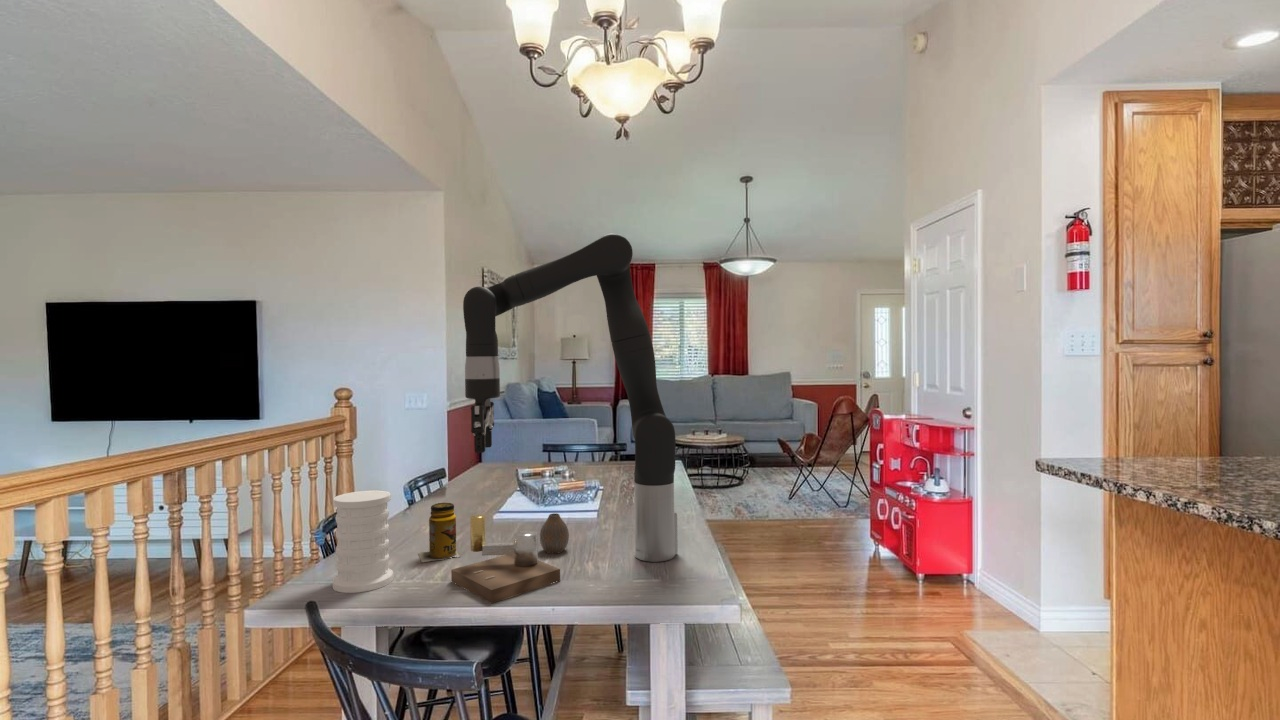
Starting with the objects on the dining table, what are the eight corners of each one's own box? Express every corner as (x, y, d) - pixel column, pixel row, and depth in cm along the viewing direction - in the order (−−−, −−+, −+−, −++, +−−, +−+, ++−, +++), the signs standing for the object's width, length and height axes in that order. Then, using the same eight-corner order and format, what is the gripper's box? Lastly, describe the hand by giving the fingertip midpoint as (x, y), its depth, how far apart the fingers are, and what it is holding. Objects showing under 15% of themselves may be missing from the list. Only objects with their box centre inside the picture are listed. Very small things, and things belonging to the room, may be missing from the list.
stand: (517, 562, 137) (517, 551, 137) (560, 580, 125) (560, 567, 125) (451, 581, 126) (451, 568, 126) (491, 603, 114) (491, 588, 114)
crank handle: (538, 557, 132) (538, 511, 132) (536, 565, 127) (536, 517, 127) (473, 560, 131) (472, 513, 131) (468, 568, 126) (468, 519, 126)
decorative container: (359, 596, 118) (358, 504, 118) (319, 587, 123) (318, 499, 123) (405, 577, 129) (404, 492, 129) (366, 569, 134) (365, 488, 134)
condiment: (460, 557, 141) (459, 506, 141) (421, 563, 138) (421, 510, 138) (455, 548, 148) (454, 499, 148) (418, 554, 144) (417, 503, 144)
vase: (563, 556, 141) (563, 518, 141) (535, 554, 143) (535, 517, 143) (572, 547, 148) (572, 511, 148) (546, 546, 149) (545, 510, 149)
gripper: (494, 377, 129) (495, 454, 129) (504, 375, 143) (505, 445, 143) (458, 378, 129) (459, 455, 129) (472, 376, 143) (473, 445, 143)
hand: (483, 449), depth 136 cm, fingers open, 7 cm apart
